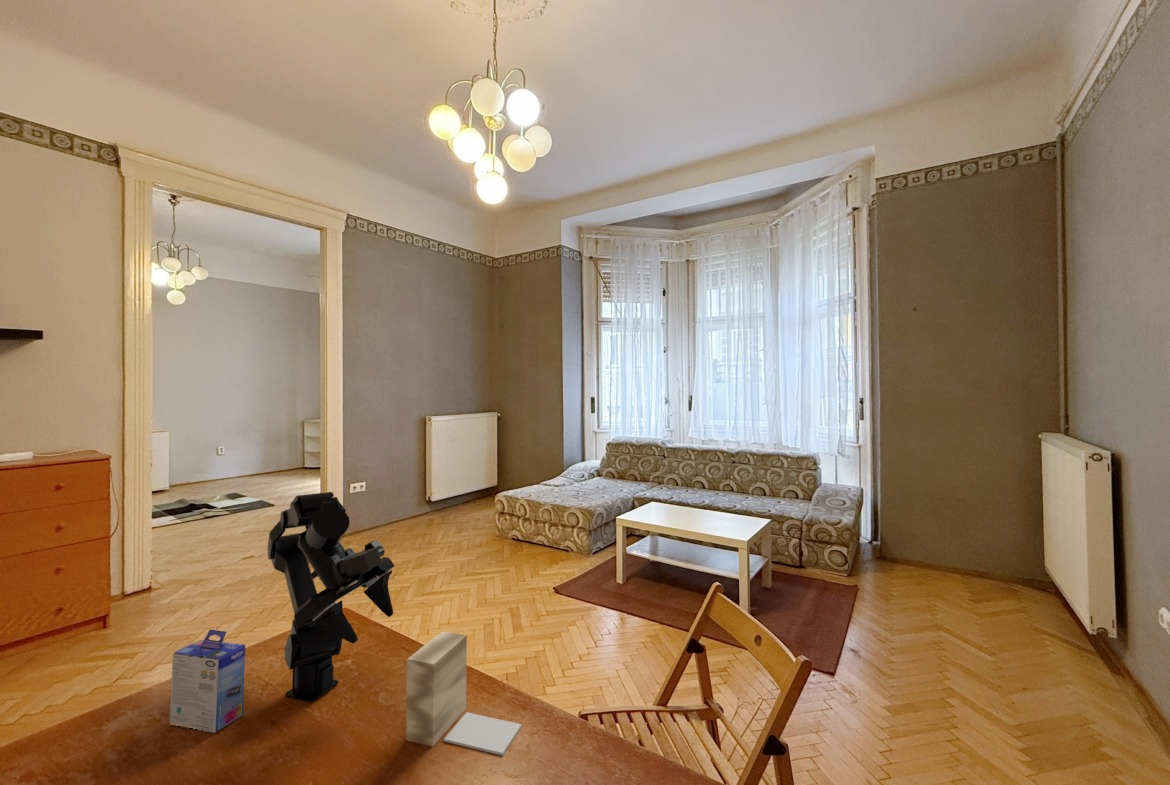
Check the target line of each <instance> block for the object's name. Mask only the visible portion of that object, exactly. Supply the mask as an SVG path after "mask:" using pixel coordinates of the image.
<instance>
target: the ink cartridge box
mask: <svg viewBox="0 0 1170 785" xmlns="http://www.w3.org/2000/svg"><path fill="white" fill-rule="evenodd" d="M226 634H227V631H223V630H216V629H209V631H208V632H207V633H206V635H205V637H204V640H203V639H201V640H198V641H196V642H193V643H191V644H189V645H186V646H184V647H182V648H181V649H178V650H176V651H175V652H173V653H172V663H171V667H172V669H171V683H170V684H171V685H170V686H171V687H170V689H171V690H170V706H169V722H168V723H171V724H178V725H182V726H186V727H189V728H193V729H192V730H195V729H198V730H197V731H201V730H203V732H206V733H207V732H208V733H214V734H215V733H217V732H219V731H220V730H222V729H223V728H225V727H226V726H228V725H230V724H231V723H233V722H235V721H236V720H238V719H240V718H241V717H242V716H244V701H245V700H244V698H245V666H246V664H245V662H246V661H245V660H246V644H243V643H234V642H224V639H225V637H226ZM211 636H216V637H219V640H214V639H210V637H211ZM189 728H188V729H189Z"/></svg>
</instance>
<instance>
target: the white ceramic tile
mask: <svg viewBox="0 0 1170 785" xmlns="http://www.w3.org/2000/svg"><path fill="white" fill-rule="evenodd" d="M522 726H523V725H522V723H518V722H514V721H509V720H505V719H499V718H495V717H490V716H485V715H480V714H477V713H473V712H472V713H471V712H465V714H463V716H462V717H461V718H460V719H459V721H458V722H457V723H456V724H455V725H454V727H453V728H452V729H451V730H450V731H449V732H448V733H447V735H446V736H444V738H443V742H445V743H449V744H454V745H457V746H462V747H466V748H470V749H473V750H478V751H482V752H486V753H491V754H495V755H499V756H504V754H505V753H506V751H507V750H508V748H509V747H510V745H511V744H512V742H513V741H514V739H515V738H516V736H517V735H518V733H519V731H520V730H521V728H522Z"/></svg>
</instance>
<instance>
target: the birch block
mask: <svg viewBox="0 0 1170 785" xmlns="http://www.w3.org/2000/svg"><path fill="white" fill-rule="evenodd" d="M467 640H468V636H467V635H466V634H462V633H455V632H450V631H449V632H448V631H441V632H439V633H438V634H437V635H436V636H434V637H433V638H432V639H431V640H429V641H427V643H426V644H424V645H423V646H422V647H420V648H419V649H418V650H417V651H416V652H414V653H413V654H412V655H411V656H409V657H408V658H407V659H406V711H405V713H406V717H405V718H406V723H405V725H406V726H405V728H406V729H405V731H406V732H405V734H406V735H405V738H406V740H405V741H409V742H412V743H417V744H420V745H425V746H428V747H434V746H435V745H436V744H437V743H438V741H440V739H441V738H442V737H443V736H444V734H445V733H447V731H448V730H449V729H450V728H451V727H452V726H453V724H454V723H455V722H456V721H457V720H458V719H459V718H460V716H461V715H462V714H463V713H464V712H465V711H466V709H467V653H468V652H467V651H468V650H467V648H468V647H467V644H468V643H467Z"/></svg>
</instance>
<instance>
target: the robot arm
mask: <svg viewBox="0 0 1170 785" xmlns="http://www.w3.org/2000/svg"><path fill="white" fill-rule="evenodd" d="M349 526H350V517H349V516H348V513H347V512H346V508H345V507H344V505H342V503H341V502H340V500H339V498H338V497H337V496H335V495H334V492H332V491H328V492H327V491H326V492H317V493H307V494H299V495H296V496H295V497H294V498H293V500H292V501H291V502H290V506H289V508H288V509H285V510H282V511H281V512H280V517H279V521H278V522H277V523H276V524H275V525H274V527H272V529H271V530H270V531H269V534H268V541H267V558H268V560H271V563H272V566H273V569H274V570H277V571H278V572H281V573H283V574H284V576H285V577H284V578H285V580H286V585H287V589H288V592H289V597H290V598H289V599H290V601H291V602H290V603H291V605H292V609H293V614H294V617H293V620H292V622H291V629H290V630H291V631H290V634H289V635H288V637H287V640H286V643H285V645H284V660H285V663H286V665H287V667H288V669H289V670H292V684H291V685H292V688H291V689H289V690H288V691H286V692H285V694H284V697H285V698H288V699H289V698H290V699H294V700H299V701H302V702H307V703H314V702H315V701H316V700H318V699H319V698H320V697H322V696H324V695H325V694H326V693H327V692H329V691H330V690H332V689H333V688H334V687H336V686H337V685H338V684H339V680H337V679H334V664H333V656H339V655H340V653H341V650H342V644H343V640H345V642H348V643H350V644H355V643H357V641H358V640H359V639H358V636H357V634H356V631H355V630H354V628H353V626H352V625H351V623H350V622H349V619H348V618H347V617H346V615H345V614H344V612H343V611H344V610H343V609H344V608H343V600H340V599H342V598H343V597H345V596H347V595H349V594H350V593H352V592H354V591H355V590H357V589H359V588H365V590H364V591H363V593H364V594H365V595H366V597H367V598H368V599H370V600H371V602H372V603H373V604H374V605H375V606H376V607H377V608H378V609H379V610H380V611H381V612H382V613H383V614H384V615H386V617H388V618H390V617H392V616H393V615H394V609H393V605H392V600H391V594H390V591H389V579H390V576H391V575H392V574H393V570H392V569H393V568H395V564H394V563H393V561H392V560H391V558H390V557H385V549H384V547H383V545H382V544H381V543H380V542H379V540H378V539H375V540H373V541H370V542H368V543H366V544H365V545H364V549H363V550H361V551H359V552H355V551H354V549H353V548H351V547H348V548H346V549H345V548H344V545H343V544H342V543H341V542H340V541H341V540H342V538H344V535H345V534H346V532H347V531H348V529H349ZM299 527H304V528H305V530H304V531H302V532H299V533H293V534H286V535H284V534H285V533H286V529H293V528H294V529H295V528H299ZM309 564H310V565H309ZM310 566H311V568H312V569H313V571H312V572H311V569H310ZM316 578H319V580H320V582H321V583H322V584H323V586H324V587H325V589H323V590H321V591H319V592H317V589H316V585H315V581H314V579H316ZM338 600H340V601H338ZM337 601H338V602H337Z"/></svg>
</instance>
